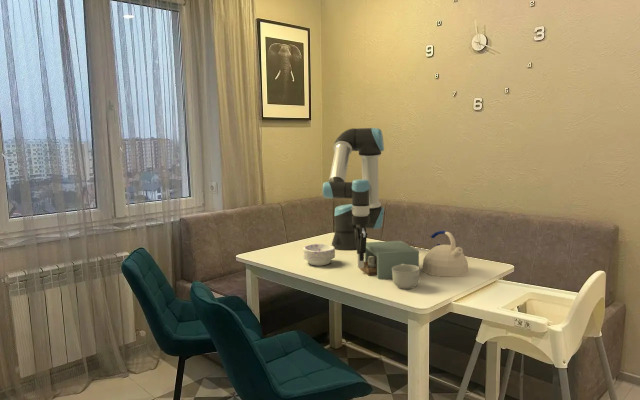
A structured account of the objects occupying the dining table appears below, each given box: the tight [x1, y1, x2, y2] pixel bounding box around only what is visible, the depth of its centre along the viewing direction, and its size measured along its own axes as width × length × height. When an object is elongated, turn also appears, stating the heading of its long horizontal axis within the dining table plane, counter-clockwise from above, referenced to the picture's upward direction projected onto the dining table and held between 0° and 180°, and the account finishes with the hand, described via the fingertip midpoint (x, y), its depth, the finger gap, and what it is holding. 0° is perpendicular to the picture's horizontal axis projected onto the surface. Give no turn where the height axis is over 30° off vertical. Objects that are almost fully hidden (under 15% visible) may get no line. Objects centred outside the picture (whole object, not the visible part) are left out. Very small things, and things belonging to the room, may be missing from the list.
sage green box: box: [364, 240, 420, 280], centre depth 215 cm, size 22×18×11 cm
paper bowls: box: [302, 243, 336, 267], centre depth 230 cm, size 15×15×8 cm
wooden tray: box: [358, 256, 377, 276], centre depth 216 cm, size 12×16×7 cm
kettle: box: [421, 230, 469, 278], centre depth 214 cm, size 20×21×18 cm
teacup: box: [392, 264, 420, 290], centre depth 194 cm, size 14×11×8 cm
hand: (360, 267), depth 213 cm, fingers closed
